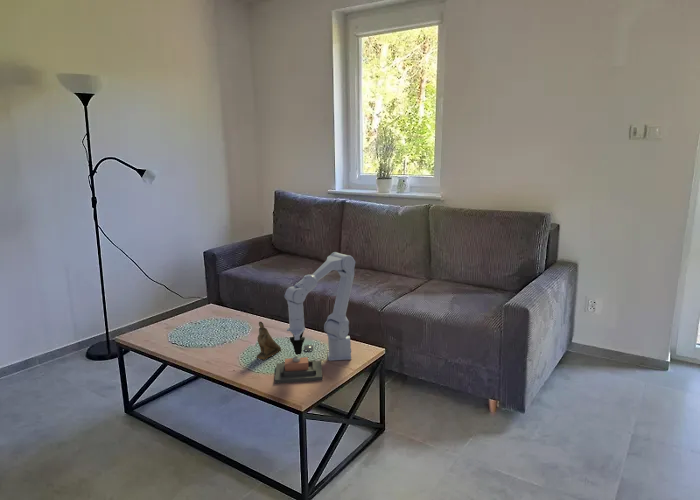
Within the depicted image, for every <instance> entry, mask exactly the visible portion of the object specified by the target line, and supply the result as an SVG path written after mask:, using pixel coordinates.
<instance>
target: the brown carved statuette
mask: <svg viewBox="0 0 700 500" xmlns="http://www.w3.org/2000/svg"><path fill="white" fill-rule="evenodd" d="M258 327H259V328H258V336H257V343H258V346H259V349H260V352H259V353H258V354H257V355H256V359H258V358H259V359H258V360H261V359H263V360H262V361H265V359H266V360H268V359H269V358H268V357H270V356H271V357H273V356H275V355H277V354H279V353H280V352H281V351H282V348H281V346H280V345H279V344H278V343H277V342H276V341H275V340H274V338H272V336H271V335H270V332H269V330H268V328H266V327H265V324H264V323H263V321H259V322H258ZM279 351H280V352H279ZM276 353H277V354H276ZM274 354H275V355H274ZM272 355H273V356H272ZM271 357H270V358H271ZM267 358H268V359H267Z"/></svg>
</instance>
